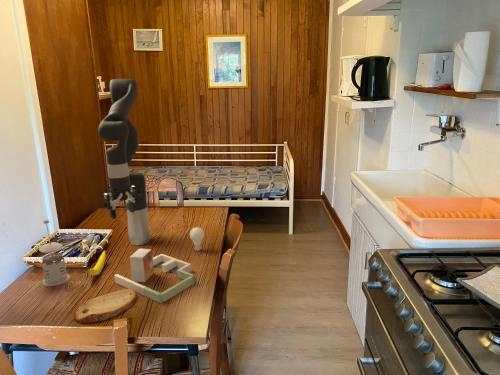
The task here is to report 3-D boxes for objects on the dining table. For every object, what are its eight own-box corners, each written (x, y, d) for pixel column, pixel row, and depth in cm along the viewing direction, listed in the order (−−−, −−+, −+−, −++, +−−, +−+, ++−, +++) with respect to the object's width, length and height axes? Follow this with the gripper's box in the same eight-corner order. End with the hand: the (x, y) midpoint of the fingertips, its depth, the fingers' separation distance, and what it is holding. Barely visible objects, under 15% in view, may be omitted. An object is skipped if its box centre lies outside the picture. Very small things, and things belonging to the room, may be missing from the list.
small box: (145, 283, 146) (142, 257, 143) (131, 281, 147) (129, 256, 145) (154, 273, 154) (152, 248, 151) (141, 271, 155) (139, 248, 152)
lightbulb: (207, 248, 175) (205, 226, 172) (201, 254, 170) (199, 231, 167) (194, 246, 177) (193, 224, 174) (188, 252, 172) (186, 229, 169)
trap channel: (115, 282, 147) (114, 275, 146) (160, 259, 165) (160, 253, 164) (161, 303, 133) (160, 295, 132) (205, 276, 151) (205, 269, 150)
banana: (109, 260, 165) (107, 247, 163) (94, 283, 147) (92, 268, 145) (102, 261, 165) (101, 247, 163) (87, 283, 147) (84, 268, 145)
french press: (42, 288, 144) (30, 226, 137) (42, 275, 154) (31, 216, 147) (70, 282, 148) (61, 221, 141) (69, 269, 158) (59, 212, 151)
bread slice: (140, 293, 140) (139, 283, 139) (126, 323, 123) (125, 313, 122) (90, 294, 140) (89, 285, 139) (69, 325, 122) (68, 314, 121)
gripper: (127, 169, 153) (132, 208, 157) (96, 177, 141) (101, 218, 146) (140, 172, 148) (144, 211, 153) (108, 180, 137) (113, 222, 142)
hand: (123, 215), depth 149 cm, fingers open, 8 cm apart
